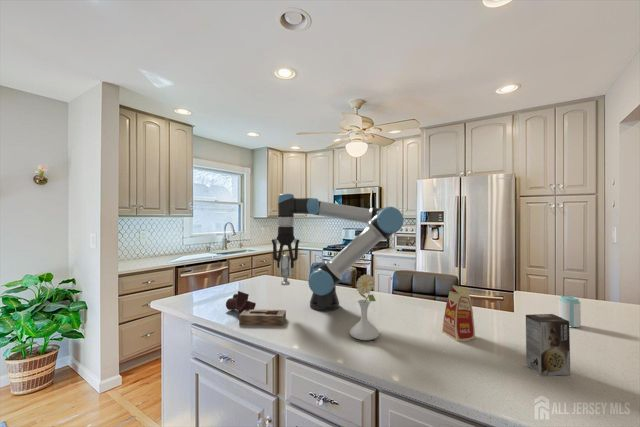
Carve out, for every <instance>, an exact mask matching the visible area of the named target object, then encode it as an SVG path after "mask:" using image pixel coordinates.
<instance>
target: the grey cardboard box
mask: <svg viewBox="0 0 640 427" xmlns="http://www.w3.org/2000/svg"><path fill="white" fill-rule="evenodd" d="M570 339H571V338H570V327H569V321H567V320H565V319H563V318H561V317H559V315H556V314H554V313H543V314H541V313H540V314H534V313H533V314H525V361H526V362H525V363H526V364H525V365H526V367H527V368H529V367H530V368H529V369H531V370H532V371H533V372H535V373H536V372H537V373H536V374H538V375H539V376H541V377H547V376H569V375H571V351H570V350H571V347H570V346H571V343H570V342H571V341H570Z"/></svg>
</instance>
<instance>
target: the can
mask: <svg viewBox="0 0 640 427" xmlns="http://www.w3.org/2000/svg"><path fill="white" fill-rule="evenodd" d="M581 307H582V306H581V301H580V300H579V298H578V297H576V296H570V295H560V298H559V299H558V316H559V317H561V318H563V319H565V320H567V321H569V326H571V327H578V328H580V327H581V325H582V324H581V322H582V321H581V320H582V318H581V314H582V313H581V312H582V311H581ZM571 327H570V328H571Z"/></svg>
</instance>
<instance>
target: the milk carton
mask: <svg viewBox="0 0 640 427" xmlns="http://www.w3.org/2000/svg"><path fill="white" fill-rule="evenodd" d="M442 320H443V322H442V330H441V332H442V334H445V335H446V336H447V337H450V338H451V339H453V340H454V341H455V342H458V341H459V342H465V341H464V340H466V341H470V340H469V339H472V340H475V339H476V334H475V333H476V332H475V330H476V329H475V328H476V327H475V320H474V310H473V305H472V300H471V296H470V294H469V292H468V287H467V286H466V287H464V286H459V285H458V286H457V285H454V284H452V288H451V289H450V290H449V292H448V297H447V300H446V304H445V309H444V316H443V319H442Z"/></svg>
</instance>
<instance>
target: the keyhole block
mask: <svg viewBox="0 0 640 427" xmlns="http://www.w3.org/2000/svg"><path fill="white" fill-rule="evenodd" d="M286 319H287V309H255V308H254V309H245V310H244V311H243V312H242V313H239V315H238V320H239V323H238V325H240V326H241V325H244V326H248V325H249V326H284V324H285V322H286Z"/></svg>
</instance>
